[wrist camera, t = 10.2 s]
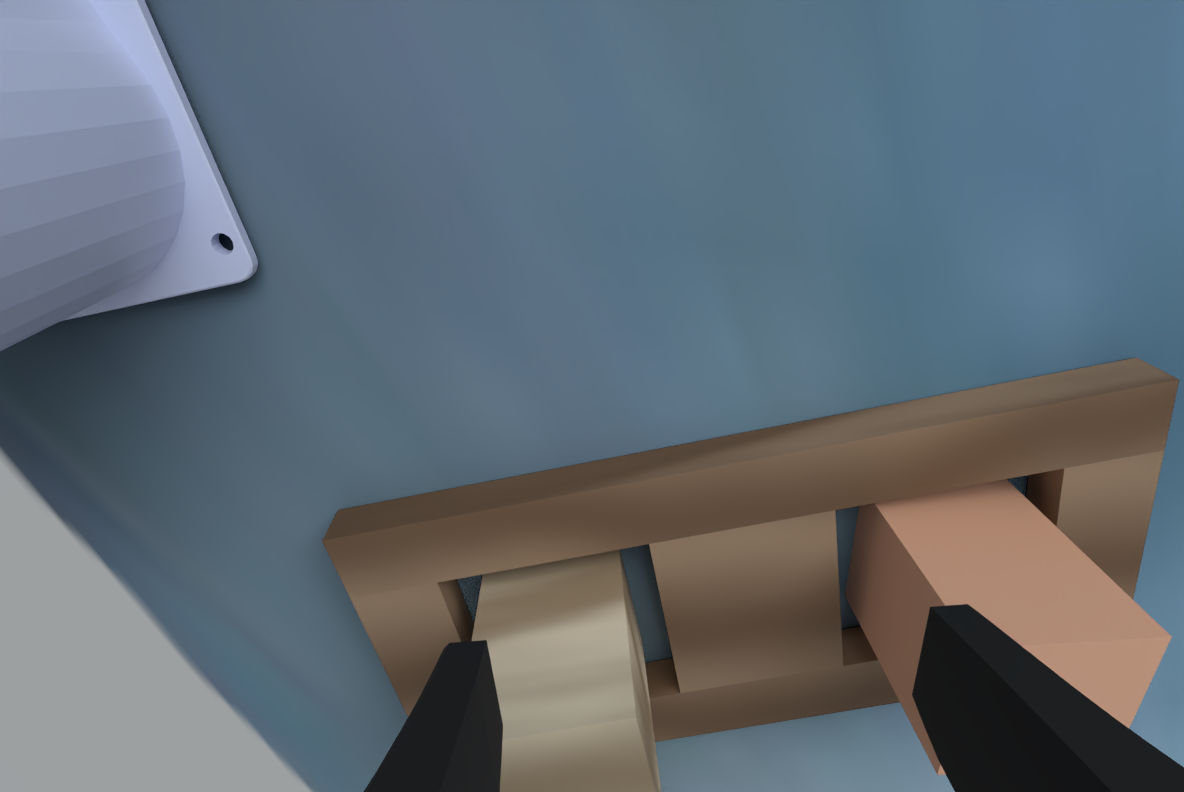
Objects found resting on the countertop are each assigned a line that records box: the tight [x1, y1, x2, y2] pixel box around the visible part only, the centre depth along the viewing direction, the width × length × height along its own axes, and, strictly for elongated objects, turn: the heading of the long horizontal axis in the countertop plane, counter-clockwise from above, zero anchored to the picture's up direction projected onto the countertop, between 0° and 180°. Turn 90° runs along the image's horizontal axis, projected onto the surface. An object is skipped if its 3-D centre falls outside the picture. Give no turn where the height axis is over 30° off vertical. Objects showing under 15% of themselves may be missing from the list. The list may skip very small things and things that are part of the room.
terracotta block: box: [845, 479, 1171, 775], centre depth 19 cm, size 4×4×6 cm
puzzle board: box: [322, 358, 1179, 742], centre depth 22 cm, size 11×24×2 cm, turn 102°
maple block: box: [472, 549, 661, 792], centre depth 20 cm, size 4×4×6 cm
